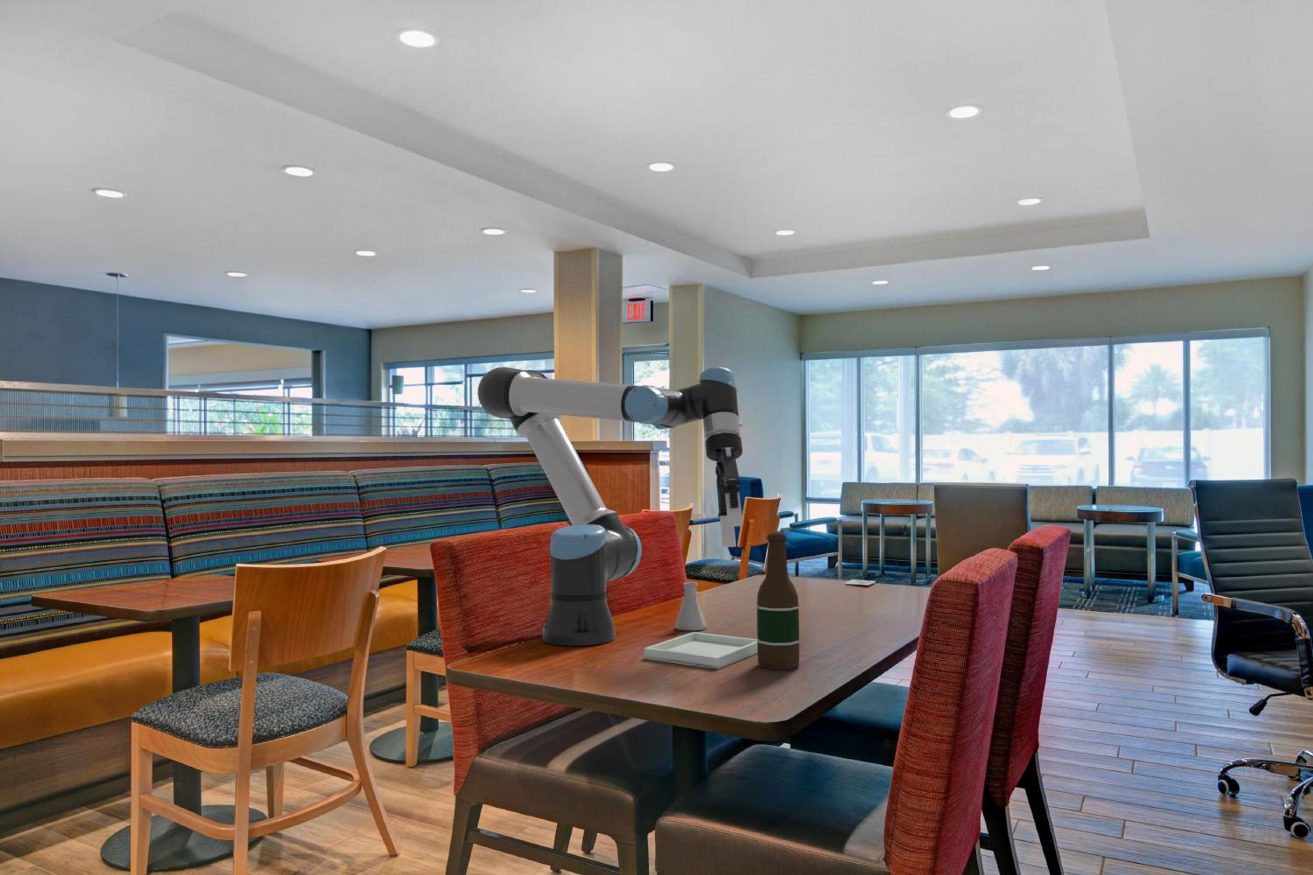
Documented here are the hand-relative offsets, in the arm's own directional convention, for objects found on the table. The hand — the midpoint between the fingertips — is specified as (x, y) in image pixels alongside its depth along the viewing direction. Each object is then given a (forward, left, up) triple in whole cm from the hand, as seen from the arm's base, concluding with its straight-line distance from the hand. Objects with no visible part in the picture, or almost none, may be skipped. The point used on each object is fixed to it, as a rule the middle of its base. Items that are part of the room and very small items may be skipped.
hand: (732, 536), depth 177 cm
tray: (-2, -7, -22) cm, 23 cm away
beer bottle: (+14, -8, -22) cm, 28 cm away
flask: (-18, +14, -22) cm, 32 cm away
